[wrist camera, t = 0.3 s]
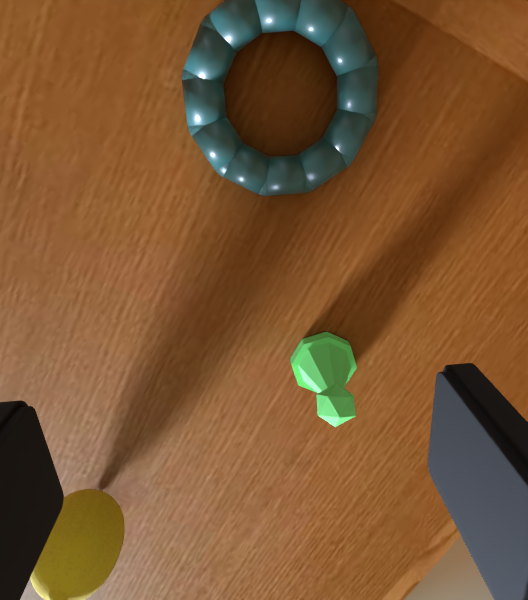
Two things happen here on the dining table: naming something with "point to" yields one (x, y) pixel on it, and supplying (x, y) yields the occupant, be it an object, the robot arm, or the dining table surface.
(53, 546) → the lemon
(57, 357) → the dining table surface
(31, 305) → the dining table surface
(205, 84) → the ring
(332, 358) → the game piece
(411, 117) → the dining table surface
